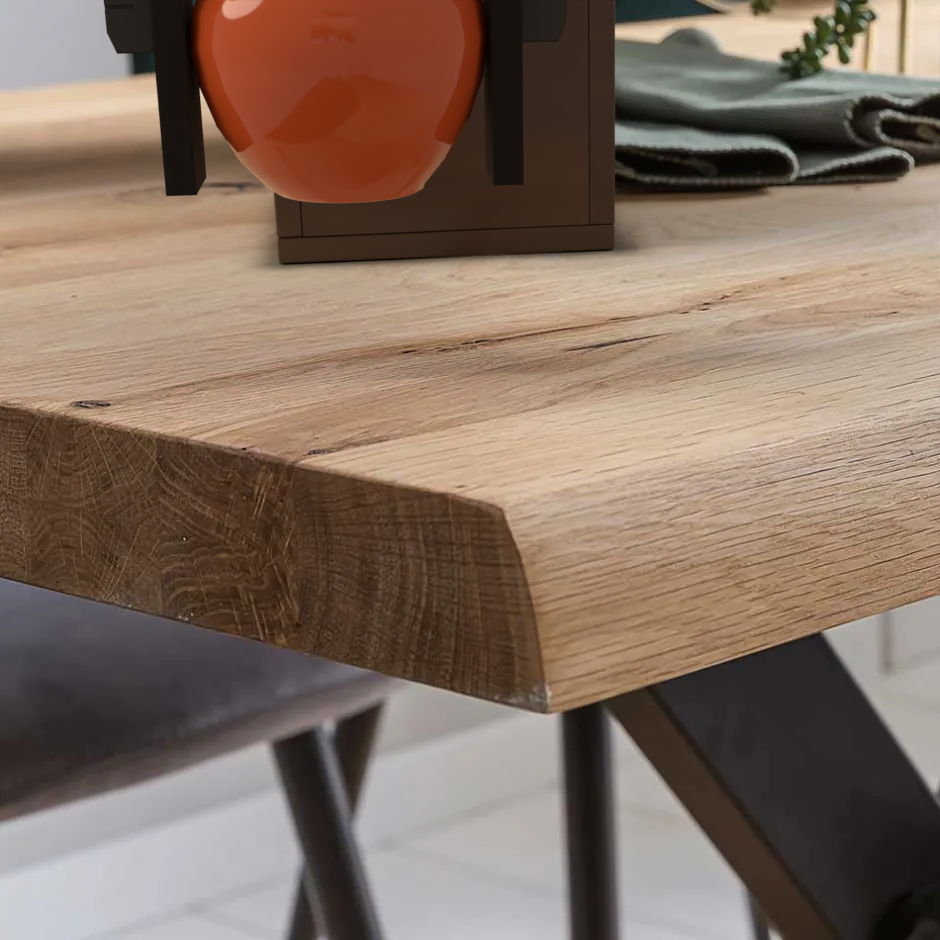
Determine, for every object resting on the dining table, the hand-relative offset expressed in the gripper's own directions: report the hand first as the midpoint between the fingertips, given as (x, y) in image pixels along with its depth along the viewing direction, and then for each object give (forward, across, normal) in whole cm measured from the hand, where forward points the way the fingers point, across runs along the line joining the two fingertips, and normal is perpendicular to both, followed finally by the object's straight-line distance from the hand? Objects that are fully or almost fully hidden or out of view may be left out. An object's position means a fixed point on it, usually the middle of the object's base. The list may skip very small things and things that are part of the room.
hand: (346, 180), depth 40 cm
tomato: (+1, 0, 0) cm, 1 cm away
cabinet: (+5, +3, +21) cm, 21 cm away
